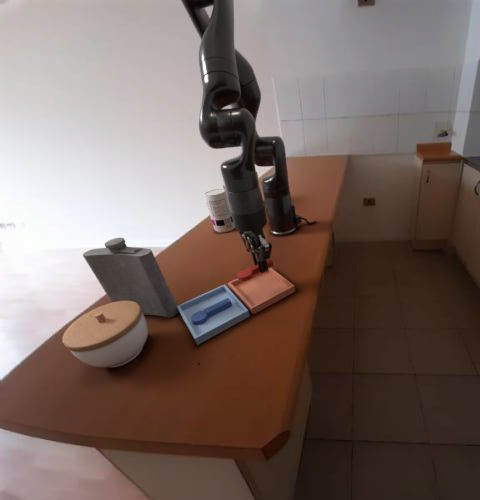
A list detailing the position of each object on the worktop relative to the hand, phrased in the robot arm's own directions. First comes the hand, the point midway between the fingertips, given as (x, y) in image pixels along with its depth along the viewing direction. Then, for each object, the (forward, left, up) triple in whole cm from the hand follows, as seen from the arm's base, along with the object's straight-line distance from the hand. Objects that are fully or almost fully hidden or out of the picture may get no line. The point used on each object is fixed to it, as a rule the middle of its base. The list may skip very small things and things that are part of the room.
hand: (261, 269), depth 72 cm
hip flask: (+26, -13, -6) cm, 30 cm away
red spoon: (+1, 0, 0) cm, 2 cm away
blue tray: (+14, 0, -6) cm, 16 cm away
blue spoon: (+14, 0, -6) cm, 15 cm away
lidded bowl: (+33, -2, -6) cm, 33 cm away
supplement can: (-7, -46, -6) cm, 47 cm away
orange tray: (+1, 0, -6) cm, 6 cm away
